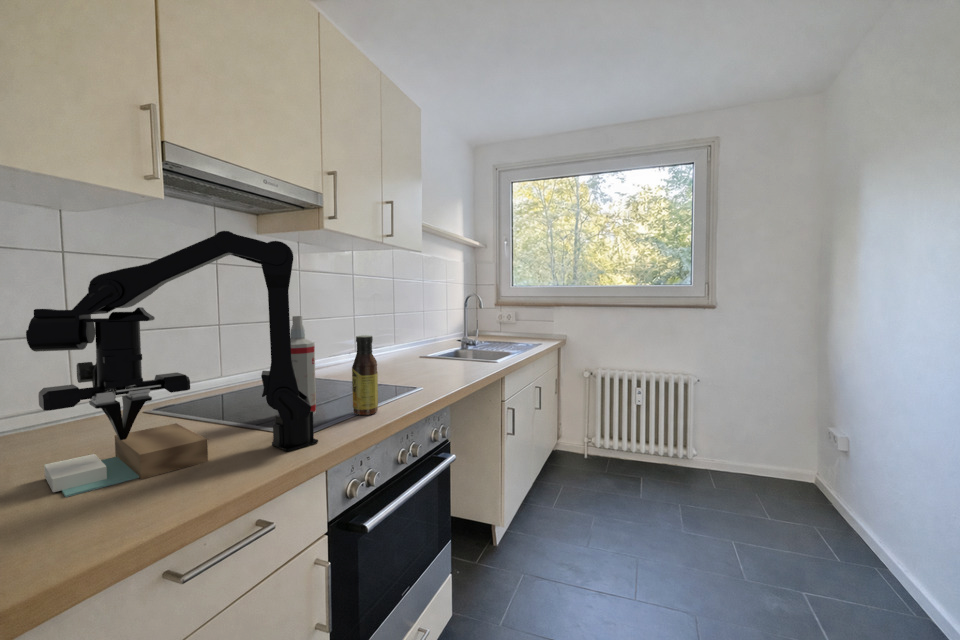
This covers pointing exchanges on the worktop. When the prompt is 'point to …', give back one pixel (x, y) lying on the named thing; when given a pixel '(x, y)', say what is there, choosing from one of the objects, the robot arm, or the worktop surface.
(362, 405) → the sauce bottle
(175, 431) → the brown box
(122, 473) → the mat
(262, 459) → the worktop surface
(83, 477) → the white block
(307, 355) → the spray bottle
